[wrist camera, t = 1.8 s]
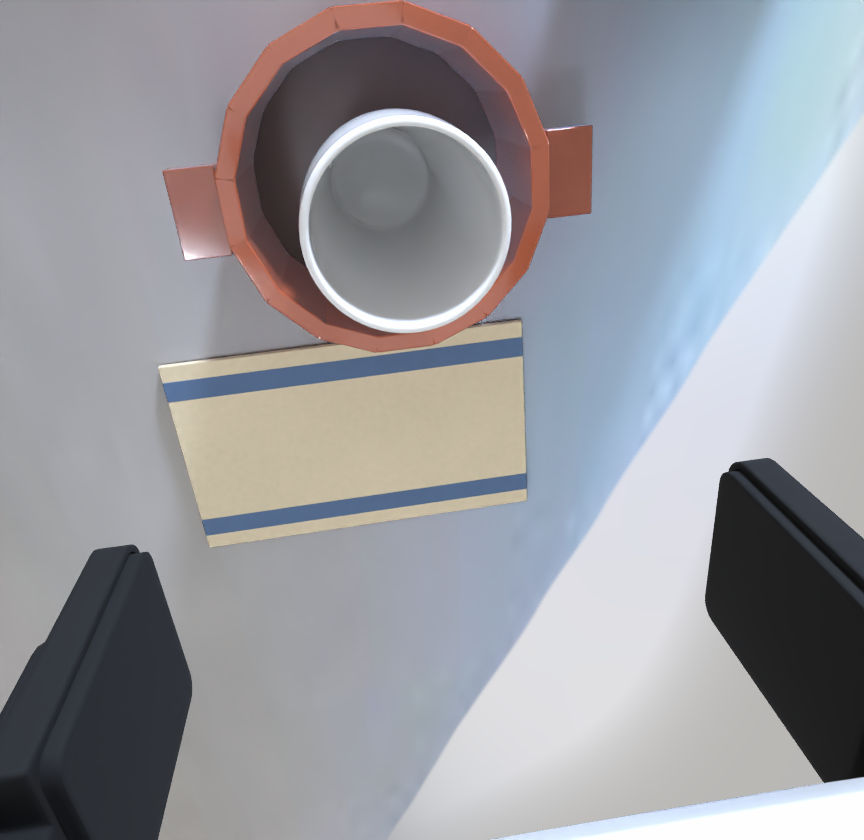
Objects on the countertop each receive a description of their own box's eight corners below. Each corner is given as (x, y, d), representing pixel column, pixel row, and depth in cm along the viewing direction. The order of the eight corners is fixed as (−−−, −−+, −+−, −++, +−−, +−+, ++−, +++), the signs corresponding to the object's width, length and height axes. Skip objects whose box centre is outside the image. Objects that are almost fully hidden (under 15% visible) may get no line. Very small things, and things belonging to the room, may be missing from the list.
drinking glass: (285, 136, 33) (253, 172, 20) (413, 75, 33) (469, 70, 19) (346, 264, 36) (355, 369, 23) (465, 210, 36) (543, 285, 22)
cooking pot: (230, 325, 37) (210, 375, 31) (164, 36, 31) (122, 25, 25) (551, 286, 38) (593, 325, 32) (547, 1, 32) (599, -19, 26)
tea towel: (210, 544, 43) (209, 548, 42) (159, 365, 37) (157, 368, 37) (525, 497, 44) (527, 500, 44) (520, 319, 39) (521, 321, 39)
